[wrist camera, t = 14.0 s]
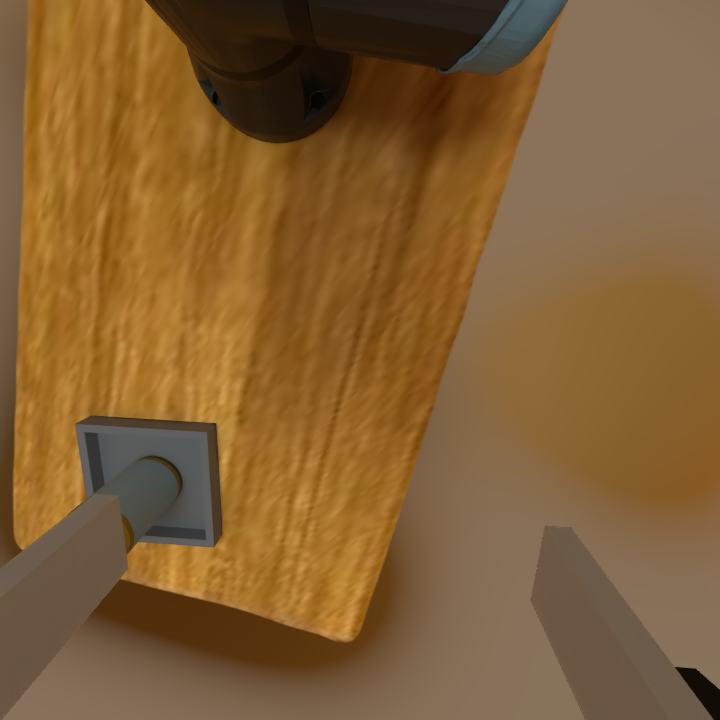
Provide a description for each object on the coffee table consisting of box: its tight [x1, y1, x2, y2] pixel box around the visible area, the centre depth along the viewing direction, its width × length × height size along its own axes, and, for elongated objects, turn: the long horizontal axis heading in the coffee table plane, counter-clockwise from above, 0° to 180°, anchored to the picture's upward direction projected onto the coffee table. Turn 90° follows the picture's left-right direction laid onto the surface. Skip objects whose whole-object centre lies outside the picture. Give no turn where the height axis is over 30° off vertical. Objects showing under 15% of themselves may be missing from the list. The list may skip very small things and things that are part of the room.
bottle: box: [67, 457, 181, 554], centre depth 40 cm, size 7×7×15 cm
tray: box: [75, 416, 222, 547], centre depth 47 cm, size 16×16×2 cm
